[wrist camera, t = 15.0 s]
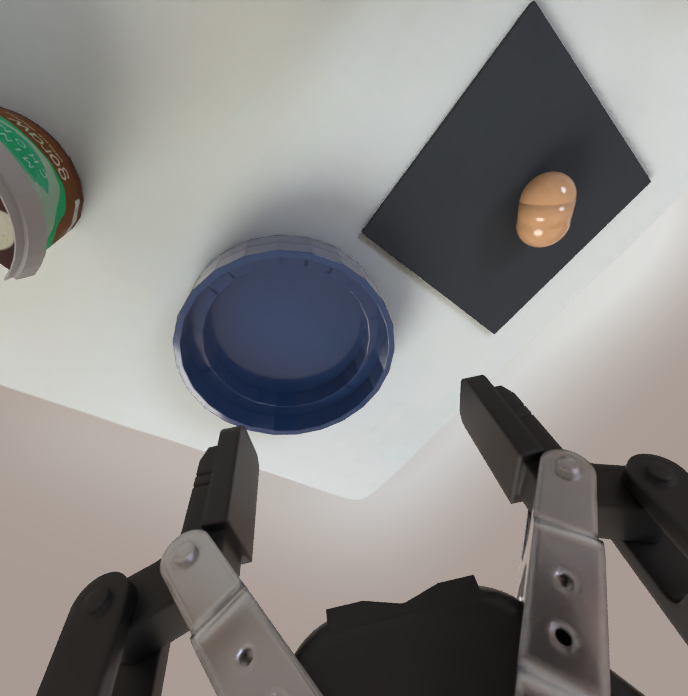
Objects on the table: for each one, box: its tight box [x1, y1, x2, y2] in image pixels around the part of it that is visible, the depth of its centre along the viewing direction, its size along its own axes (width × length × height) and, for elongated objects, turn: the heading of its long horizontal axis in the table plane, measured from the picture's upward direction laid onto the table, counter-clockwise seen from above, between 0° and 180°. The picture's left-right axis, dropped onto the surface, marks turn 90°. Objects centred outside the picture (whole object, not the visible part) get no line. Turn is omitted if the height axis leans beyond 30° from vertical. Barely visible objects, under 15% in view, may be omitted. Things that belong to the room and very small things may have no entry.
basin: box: [173, 235, 394, 435], centre depth 35 cm, size 20×20×5 cm
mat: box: [362, 1, 651, 334], centre depth 33 cm, size 20×20×1 cm
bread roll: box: [516, 171, 577, 248], centre depth 31 cm, size 6×4×4 cm
